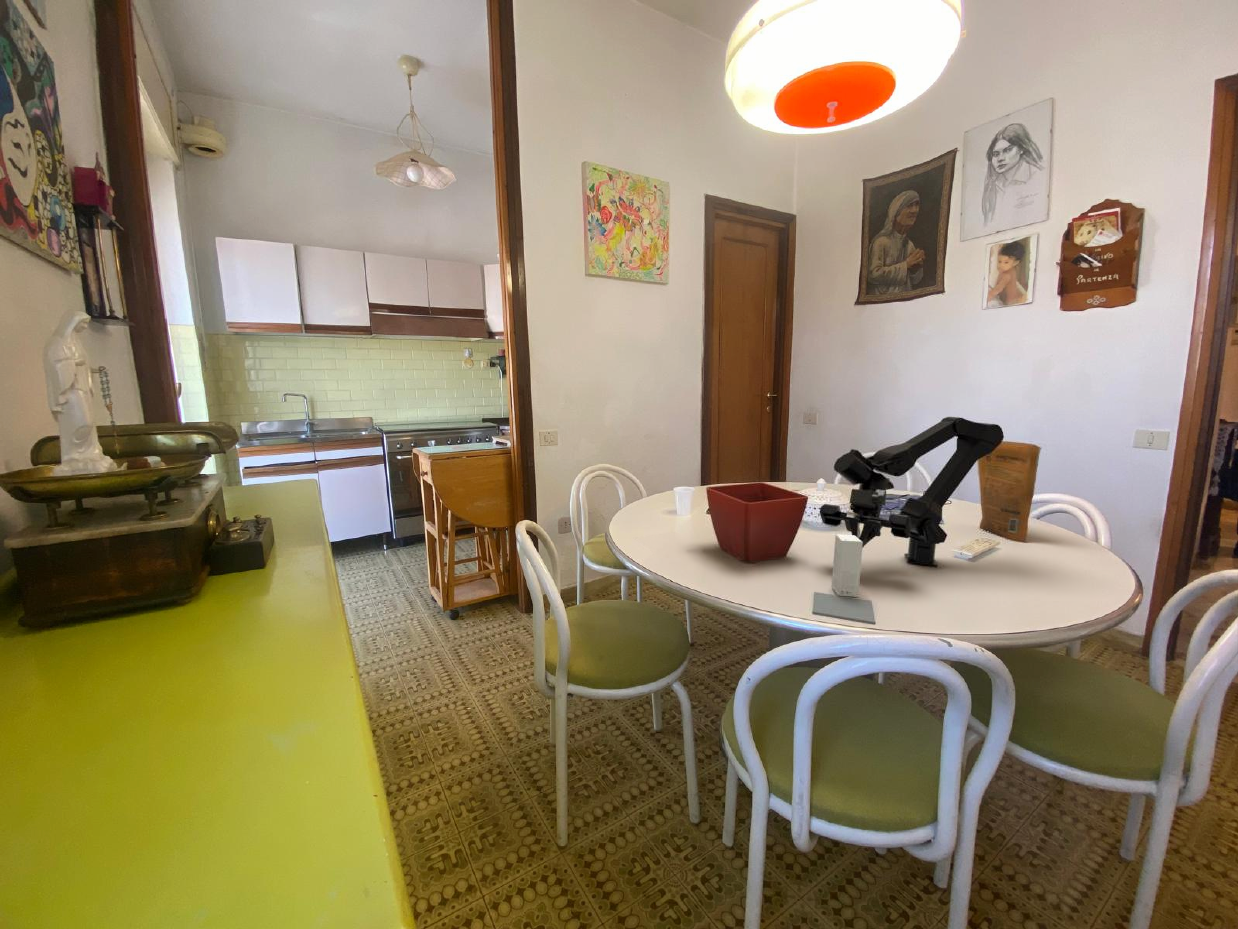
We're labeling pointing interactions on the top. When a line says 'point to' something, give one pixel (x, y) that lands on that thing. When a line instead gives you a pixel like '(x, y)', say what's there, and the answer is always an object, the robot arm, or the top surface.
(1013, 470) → the pancake mix bag
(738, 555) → the plant pot
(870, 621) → the mat
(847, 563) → the skincare box
